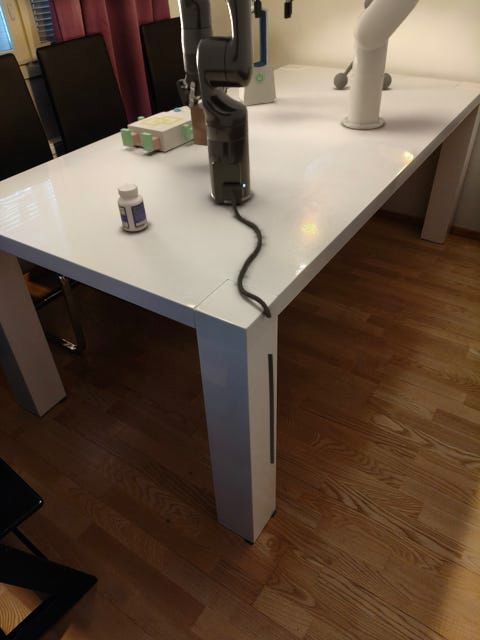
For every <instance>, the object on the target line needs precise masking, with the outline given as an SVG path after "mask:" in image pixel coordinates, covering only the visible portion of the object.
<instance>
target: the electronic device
mask: <svg viewBox="0 0 480 640" xmlns="http://www.w3.org/2000/svg"><path fill="white" fill-rule="evenodd" d="M251 13H252V14H254V5H251ZM258 24H259V25H258V29H259V31H258V33H259V34H258V35H259V61H254V69H253V76H252V80H251V82H250V84H249V85H248V86H247V87H244V88H238V97H239V100H240V101H242V103H243V104H244V105H245V106H252V105H253V106H254V105H260V104H267V103H268V104H269V103H274V102H275V100H276V99H277V93H276V92H277V91H276V82H275V72H274V67H273V66H272V65H271V64H269V9H268V8H265V7H263V6H262V17H260V18H258Z"/></svg>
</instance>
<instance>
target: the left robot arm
mask: <svg viewBox="0 0 480 640" xmlns="http://www.w3.org/2000/svg"><path fill="white" fill-rule="evenodd" d="M224 1H225V4H226V6H227V10H228V13H229V18H230V24H231V33H232V34H231V35H214V31H213V21H212V20H213V19H212V8H211V1H210V0H177V4H178V9H179V15H180V16H179V17H180V24H181V25H180V28H181V49H182V54H183V55H182V57H183V66H184V67H183V69H184V72H185V73H186V74H185V78H181V79H179V80H177V81H176V82H175V83H176V88H177V91H178V94H179V97H180V101H181V103H182V105H183V107H187V108H188V109H189V110H190V111H191V108H190V107H192V106H194V105H196V104H199V103H200V99H201V102H202V106H203V111H204V114H205V122H206V133H207V145H208V146H207V155H208V166H209V167H208V168H209V179H210V189H211V193H210V195H211V200H212V201H214V203H215V204H216V205H232V208H233V212H234V215H235V217H236V218H237V219H238V220H239V221H240V222H241V223H243V224H244V225H246V226H248V227H251V228H253V230H254V231H255V233H256V235H257V242H256V243H257V244H256V246H255V248H254V250H253V251H252V252H251V253H250V255H249V256H248V257H247V258H246V260H244V263H243V265H242V267H241V269H240V271H239V274H238V276H237V281H236V282H237V288H238V290H239V292H240V293H241V294H242V295H243V296H244V297H246V298H249V299H250V300H253V301H255V302H256V303H258V305H260V306H261V307H262V309H263V311H264V313H265V317H266V318H268V319H271V318H272V316H273V315H272V313H271V310H270V307H269V306H268V304H267V303H266V302H265V301H264V300H263V299H262V298H261V297H260V296H258V295H256V294H253V293H251V292H249V291H247V290H246V289H245V288H244V285H243V278H244V275H245V273H246V272H247V268H248V267H249V264H250V263H251V261H252V260H253V259H254V258H255V257H256V256H257V254H258V253H259V251H260V250H261V247H262V242H263V234H262V232H261V230H260V228H259V227H258V226H257V224H256V223H253V221H252V222H251V221H249V220H247V219H245V218H243V217H242V215H241V214H240V212H239V210H238V206H237V205H242V204H243V202H246V201H248V200H250V198H251V196H252V190H251V165H250V162H251V161H250V138H249V135H250V134H249V111H248V107H247V105H246V104H245V103H244V102H241V101H239V100H238V99H235V98H233V97H232V96H230V95H229V94H228V88H229V89H230V88H231V89H232V88H234V89H237V88H238V89H239V88H244V87H247V86H248V85H249V84H250V82H251V80H252V76H253V69H254V63H255V52H254V51H255V50H254V31H253V13H251V6H252V0H224ZM189 89H190V90H189ZM191 120H192V117H191ZM273 355H274V354H273V353H267V365H268V366H267V369H268V397H269V398H268V400H269V463H270V464H271V465H273V464H275V389H274V388H275V385H274V384H275V383H274V381H275V379H274V356H273Z"/></svg>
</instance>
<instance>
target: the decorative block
mask: <svg viewBox="0 0 480 640" xmlns="http://www.w3.org/2000/svg"><path fill="white" fill-rule="evenodd" d="M120 135H121V141H122V146H123V147H128V148H131V147H134V146H137V147H141V148H143V151H145V152H153V151H160V152H164V153H165V152H168V151H170V150H172V149H174V148H177V147H179V146H182V145H183V144H186V143H188V142H190V141H192V140H194V137H193V127H192V120H191V111H190V108H182V107H175V108H174V109H170V110H169V111H162V112H161V111H160V112H158V113H156V114H154V115H151V116H148V117H146V118H145V116H138V117H137V121H134V122H131V123H129V124H127V128H124V127H123V128H121V129H120Z"/></svg>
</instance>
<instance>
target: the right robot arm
mask: <svg viewBox="0 0 480 640" xmlns="http://www.w3.org/2000/svg"><path fill="white" fill-rule="evenodd" d="M293 2H294V0H285V2H284V3H283V18H284V19H285V20H287V19H291V18H292V15H293ZM419 2H420V0H373V1H372V3H371V4H370V5H369V7H368V8H366V9H365V8H364V10H362V12H360V14H359V15H358V17H357V19H356V21H355V25H354V29H353V37H354V44H353V45H354V46H353V55H352V56H353V57H352V61H353V66H352V69H351V80H350V91H349V101H348V102H349V103H348V114H347V116H345V117H344V118H342V125H343V126H344V127H346V128H350V129H353V130H354V129H355V130H372V129H376V128H380V127H382V126H383V125H384V121H385V120H384V119H383V118H382V117H381V116H380V112H381V106H382V105H381V104H382V103H381V102H382V95H383V89H382V88H383V80H384V73H386V72H385V71H386V63H387V54H388V47H389V41H390V40H389V39H390V38H391V36H393V34H394V33H395V32H396V31H397V29H398V28H399V27H400V26H401V25H402V23H403V22H404V21H405V20H406V19H407V18H408V16H409V15H410V14H411V13H412V12H413V11H414V9H415V8H416V6H417V5H418V3H419ZM251 3H253V6H254V13H253V15H254V19H259V18H260V17H262V7H263V6H262V3H263V2H262V1H261V0H251Z"/></svg>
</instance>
